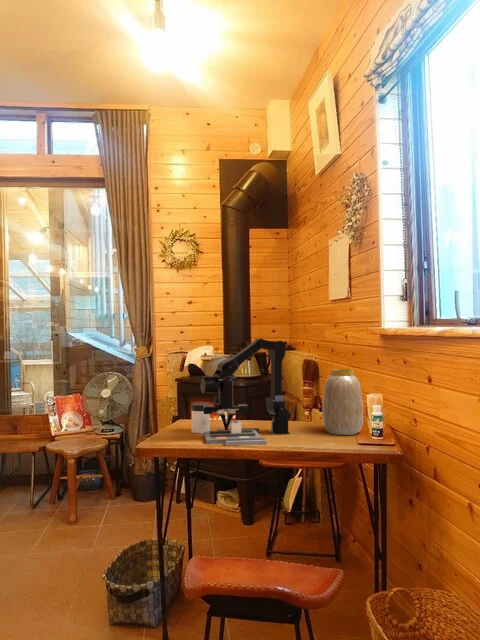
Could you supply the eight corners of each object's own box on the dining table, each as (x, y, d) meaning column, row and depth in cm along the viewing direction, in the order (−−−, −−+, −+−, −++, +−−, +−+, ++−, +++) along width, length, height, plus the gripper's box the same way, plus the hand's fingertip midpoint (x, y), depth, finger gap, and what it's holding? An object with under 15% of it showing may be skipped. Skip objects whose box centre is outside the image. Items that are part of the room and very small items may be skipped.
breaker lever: (239, 432, 188) (239, 420, 188) (241, 435, 183) (241, 422, 183) (230, 433, 187) (230, 420, 187) (231, 435, 183) (231, 422, 183)
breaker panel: (255, 432, 194) (255, 427, 194) (262, 441, 179) (262, 435, 179) (204, 434, 191) (204, 428, 191) (206, 444, 175) (206, 437, 175)
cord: (258, 431, 198) (258, 428, 198) (258, 431, 196) (258, 428, 196) (217, 432, 195) (217, 429, 195) (217, 433, 194) (217, 430, 194)
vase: (366, 429, 200) (365, 369, 201) (359, 438, 184) (358, 372, 185) (327, 426, 207) (327, 367, 208) (318, 434, 192) (317, 370, 192)
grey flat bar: (264, 442, 178) (264, 438, 178) (266, 444, 175) (266, 440, 175) (224, 443, 176) (224, 440, 176) (225, 445, 173) (225, 441, 173)
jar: (196, 434, 192) (196, 406, 192) (187, 430, 199) (187, 403, 199) (214, 431, 197) (214, 404, 197) (205, 428, 204) (205, 401, 204)
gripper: (245, 389, 194) (245, 425, 194) (202, 390, 192) (202, 426, 191) (249, 392, 183) (249, 431, 183) (203, 393, 181) (203, 432, 180)
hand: (226, 430), depth 185 cm, fingers closed
